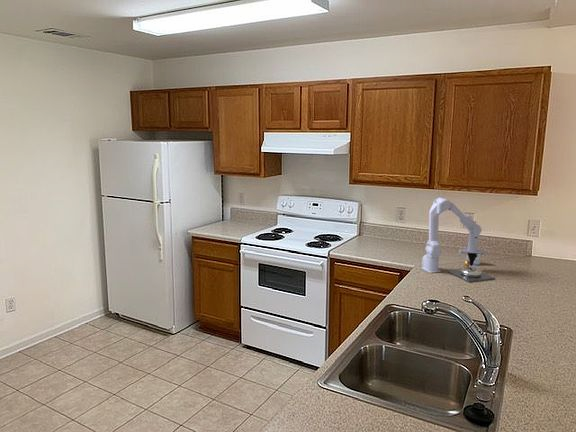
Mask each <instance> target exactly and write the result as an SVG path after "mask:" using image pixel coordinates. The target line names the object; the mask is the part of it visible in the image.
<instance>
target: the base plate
mask: <svg viewBox="0 0 576 432" xmlns="http://www.w3.org/2000/svg"><path fill="white" fill-rule="evenodd" d="M447 274H450V275H452V276H454V277H456V278H459V279H460V280H463V281H465V282H467V283H469V284H470V283H477V282H484V281H485V280H486V281H492V280H493V279H494V280H496V277H494V276H492V275H489V274H487V273H485V272H484V271H483V272H482V274H481V276H480V277H469V276H465V275H463V274H461V269H455V270H448V271H447Z"/></svg>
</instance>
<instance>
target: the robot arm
mask: <svg viewBox="0 0 576 432" xmlns="http://www.w3.org/2000/svg"><path fill="white" fill-rule="evenodd" d="M446 211H449V212H450V211H451V212H452V214H454V215H455V216H457V217H458V219H459V223H461V224H462V225H463V226H464V227H465V228H466V229H467V231H468V241H467V249H462V248H461V249H459V251H458V252H459V254H466V255H467V254H468V257H469V260H470V264H469V267H473V266H474V265H473V262H474V260H475V259H476V257H477V254H481V255H484V256H485V255H486V254H487V253H486V252H487V251H486V250H480V249H479V243H480V240H479V239H480V234H481V233H482V231H483V229H482V227H481V225H479V224H477V221H475V220H473V218H472V216H471V215H468V214H464V213H463V212H462V211H461V210H460V209H459V208H458V207H457V206H456V204H454V202H452V201H450V199H446V198H444V197H438V198H435V199H434V200H433V202H432V205H431V207H430V209H429V211H428V214H429V215H428V240H427V242H426V246H425V247H424V248H425V249H424V251H425V252H426V254H424V255H423V256H422V260H421V261H422V262H421V267H420V269H421V270H423V271H425V272H427V273H429V274H432V273H441V272H442V270H439V262H440V261H439V260H440V256H441V255H442V250H441V247H440V246H441V245H440V243H439V219H440V218H439V215H441V214H442V213H443V212H446Z"/></svg>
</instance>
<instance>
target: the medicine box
mask: <svg viewBox="0 0 576 432" xmlns="http://www.w3.org/2000/svg"><path fill="white" fill-rule="evenodd" d="M481 255H482V254H477V257H476V259H475V260H474V262H473V265H472V266H480V263H481ZM465 261H470V260H469V257H468V254H467V253H466V259H465ZM469 265H470V262H469Z"/></svg>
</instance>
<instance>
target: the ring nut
mask: <svg viewBox="0 0 576 432" xmlns="http://www.w3.org/2000/svg"><path fill="white" fill-rule="evenodd" d="M469 262H470V261H466V260H465V261H464V267H462V268H461V269H460V270H461V274H463V275H465V276H469V277H480V276H481V274H482V269H479V268H476V267H475V266H472V267H471V266H470V264H469Z"/></svg>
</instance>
